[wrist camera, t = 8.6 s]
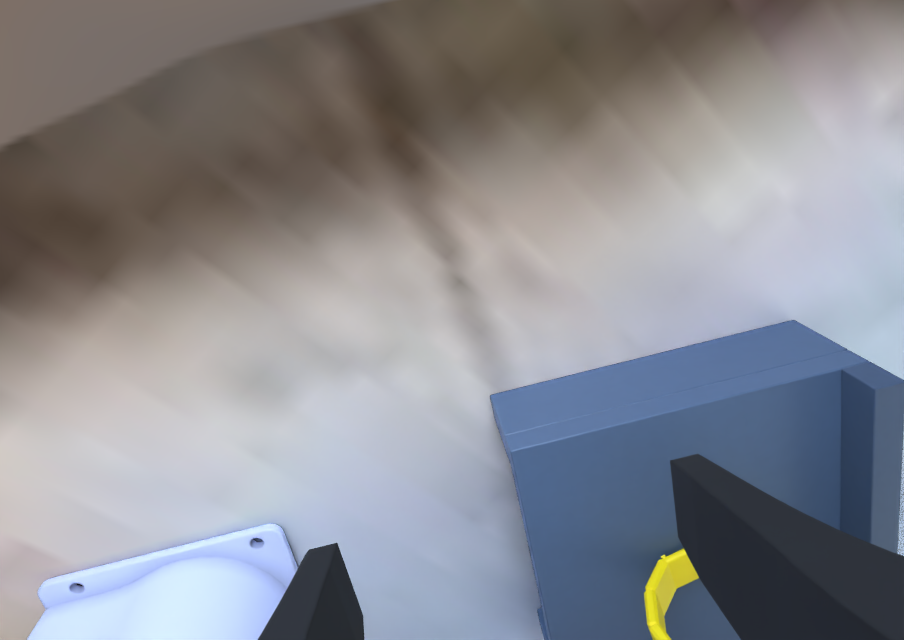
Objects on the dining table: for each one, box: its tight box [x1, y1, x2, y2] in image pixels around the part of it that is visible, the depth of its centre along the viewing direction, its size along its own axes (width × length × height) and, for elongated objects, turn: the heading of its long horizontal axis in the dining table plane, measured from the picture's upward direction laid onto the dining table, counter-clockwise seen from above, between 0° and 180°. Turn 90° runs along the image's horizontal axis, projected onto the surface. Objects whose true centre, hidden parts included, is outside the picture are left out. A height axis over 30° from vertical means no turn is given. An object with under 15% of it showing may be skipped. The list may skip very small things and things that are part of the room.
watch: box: [644, 548, 699, 640], centre depth 19 cm, size 6×3×6 cm, turn 111°
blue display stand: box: [490, 320, 904, 640], centre depth 23 cm, size 12×12×6 cm
